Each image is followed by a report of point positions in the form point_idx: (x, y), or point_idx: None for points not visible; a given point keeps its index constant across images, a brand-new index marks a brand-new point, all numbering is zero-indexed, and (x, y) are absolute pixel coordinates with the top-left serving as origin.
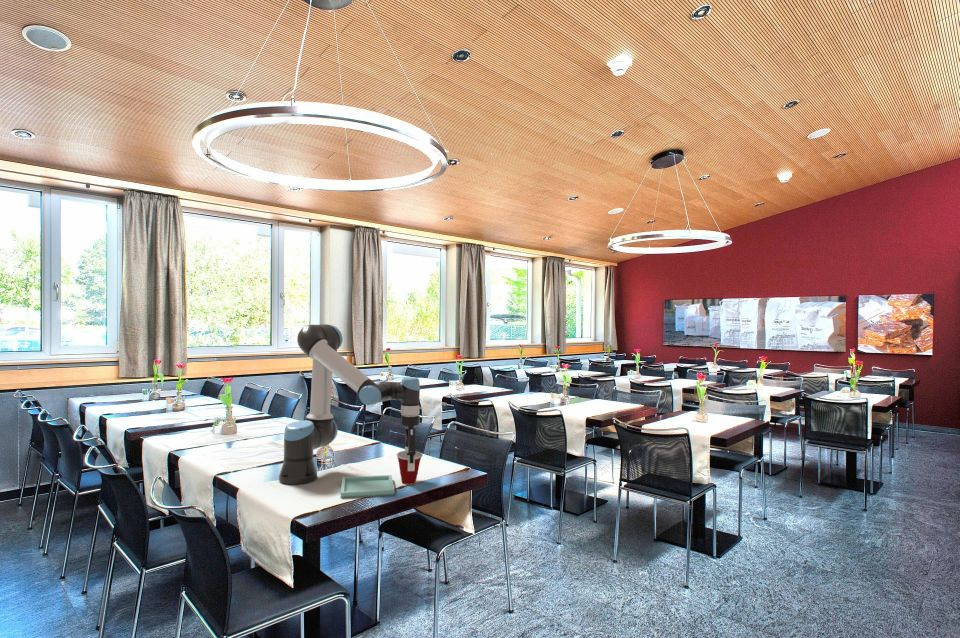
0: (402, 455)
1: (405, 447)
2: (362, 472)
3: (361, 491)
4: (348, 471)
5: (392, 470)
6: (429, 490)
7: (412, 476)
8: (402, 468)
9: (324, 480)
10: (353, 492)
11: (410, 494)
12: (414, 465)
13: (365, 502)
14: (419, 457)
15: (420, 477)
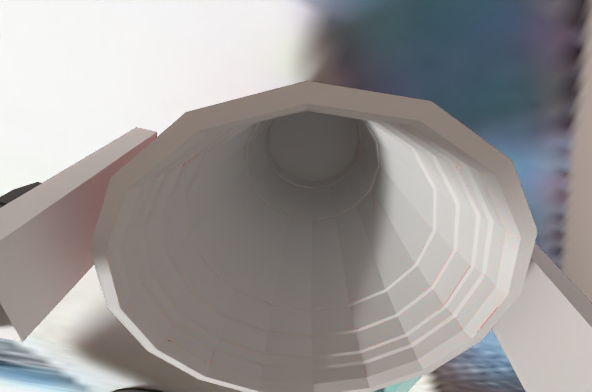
0: (183, 294)
1: (27, 332)
2: (80, 284)
3: (419, 376)
4: (67, 318)
5: (27, 155)
6: (578, 62)
7: (379, 157)
8: (351, 263)
9: (180, 382)
10: (407, 389)
11: (540, 204)
12: (538, 250)
13: (483, 358)
14: (529, 210)
15: (220, 9)
